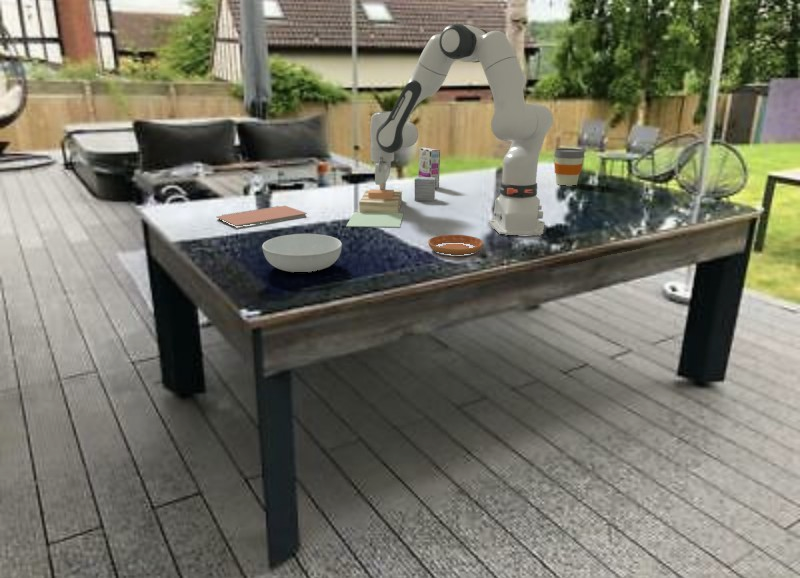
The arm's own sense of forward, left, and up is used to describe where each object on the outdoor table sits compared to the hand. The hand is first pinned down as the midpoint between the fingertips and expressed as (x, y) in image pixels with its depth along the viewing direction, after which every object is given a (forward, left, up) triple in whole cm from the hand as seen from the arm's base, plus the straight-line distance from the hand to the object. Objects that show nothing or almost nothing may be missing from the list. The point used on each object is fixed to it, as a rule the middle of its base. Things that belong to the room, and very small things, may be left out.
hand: (382, 192), depth 241 cm
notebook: (-24, +41, -5) cm, 48 cm away
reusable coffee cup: (+45, -78, -5) cm, 90 cm away
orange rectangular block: (-4, 0, -1) cm, 5 cm away
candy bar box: (+36, -17, -5) cm, 40 cm away
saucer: (-60, -27, -5) cm, 66 cm away
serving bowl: (-79, +14, -5) cm, 80 cm away
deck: (-4, 0, -5) cm, 6 cm away
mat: (-25, 0, -5) cm, 25 cm away
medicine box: (+9, -16, -5) cm, 19 cm away
